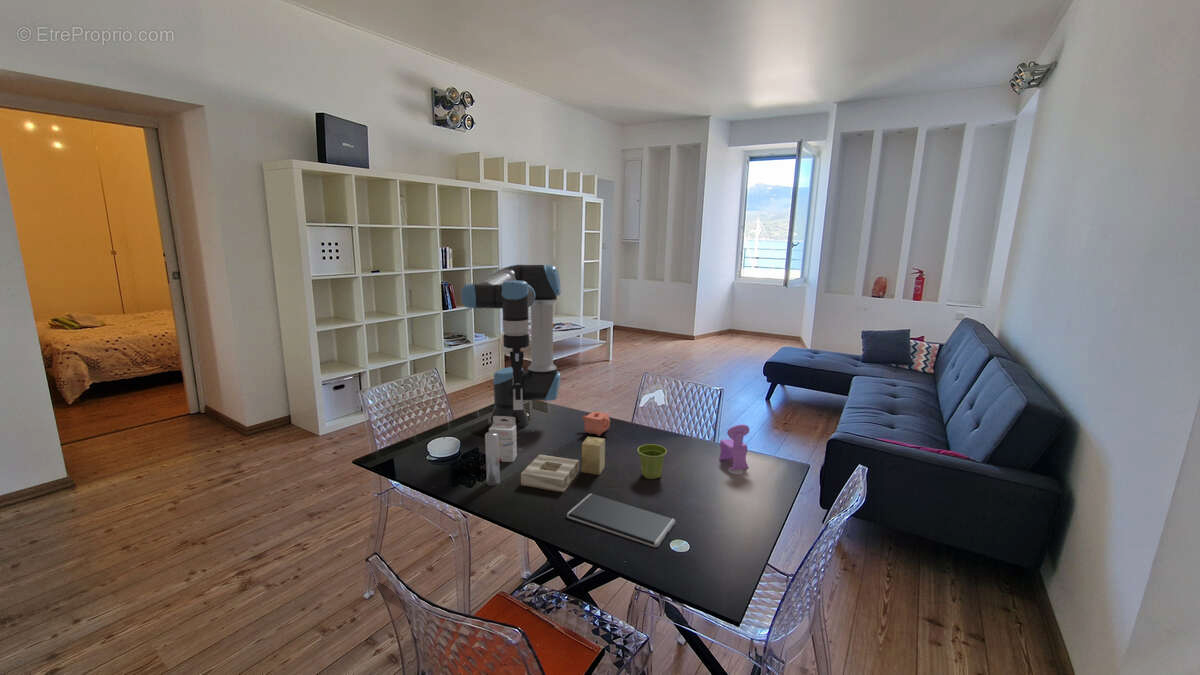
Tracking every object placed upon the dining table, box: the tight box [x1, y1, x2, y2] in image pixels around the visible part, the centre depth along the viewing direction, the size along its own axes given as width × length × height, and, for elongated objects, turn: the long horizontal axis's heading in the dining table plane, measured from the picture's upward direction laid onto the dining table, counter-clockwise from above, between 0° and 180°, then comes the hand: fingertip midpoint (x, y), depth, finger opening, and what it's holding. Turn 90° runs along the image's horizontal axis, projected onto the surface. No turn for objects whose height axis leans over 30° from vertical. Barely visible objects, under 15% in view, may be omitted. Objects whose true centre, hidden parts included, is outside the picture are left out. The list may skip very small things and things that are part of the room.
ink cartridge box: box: [488, 416, 518, 463], centre depth 168 cm, size 9×5×15 cm, turn 84°
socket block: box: [520, 454, 580, 493], centre depth 155 cm, size 14×14×4 cm
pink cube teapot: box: [581, 410, 611, 437], centre depth 193 cm, size 8×12×8 cm, turn 63°
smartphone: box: [566, 493, 676, 548], centre depth 133 cm, size 13×27×2 cm, turn 61°
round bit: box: [484, 431, 501, 486], centre depth 151 cm, size 4×4×16 cm
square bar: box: [581, 436, 606, 476], centre depth 161 cm, size 6×6×10 cm
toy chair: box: [718, 424, 750, 471], centre depth 166 cm, size 8×9×15 cm
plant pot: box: [637, 443, 668, 480], centre depth 158 cm, size 9×9×9 cm
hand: (517, 402), depth 149 cm, fingers open, 13 cm apart
